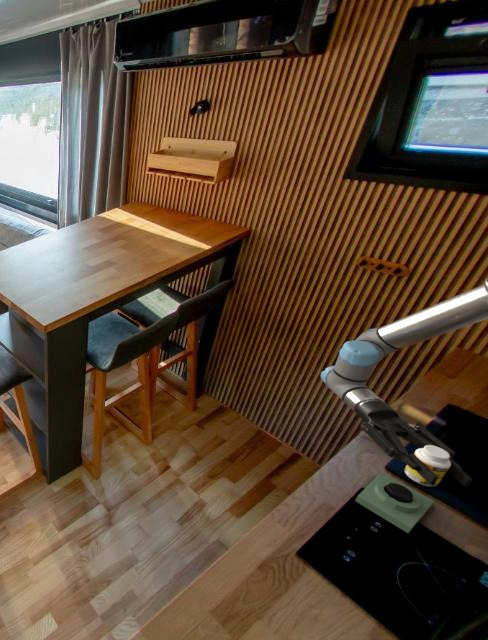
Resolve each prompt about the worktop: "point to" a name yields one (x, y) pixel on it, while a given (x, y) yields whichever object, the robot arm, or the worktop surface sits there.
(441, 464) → the supplement bottle
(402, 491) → the button
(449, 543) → the worktop surface
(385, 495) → the button box
